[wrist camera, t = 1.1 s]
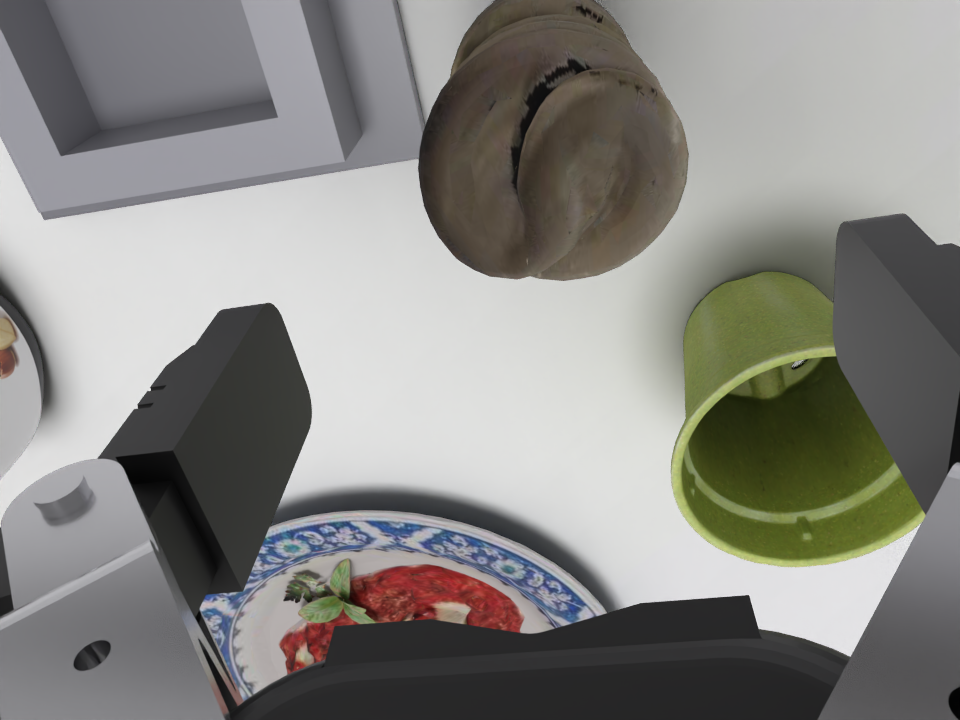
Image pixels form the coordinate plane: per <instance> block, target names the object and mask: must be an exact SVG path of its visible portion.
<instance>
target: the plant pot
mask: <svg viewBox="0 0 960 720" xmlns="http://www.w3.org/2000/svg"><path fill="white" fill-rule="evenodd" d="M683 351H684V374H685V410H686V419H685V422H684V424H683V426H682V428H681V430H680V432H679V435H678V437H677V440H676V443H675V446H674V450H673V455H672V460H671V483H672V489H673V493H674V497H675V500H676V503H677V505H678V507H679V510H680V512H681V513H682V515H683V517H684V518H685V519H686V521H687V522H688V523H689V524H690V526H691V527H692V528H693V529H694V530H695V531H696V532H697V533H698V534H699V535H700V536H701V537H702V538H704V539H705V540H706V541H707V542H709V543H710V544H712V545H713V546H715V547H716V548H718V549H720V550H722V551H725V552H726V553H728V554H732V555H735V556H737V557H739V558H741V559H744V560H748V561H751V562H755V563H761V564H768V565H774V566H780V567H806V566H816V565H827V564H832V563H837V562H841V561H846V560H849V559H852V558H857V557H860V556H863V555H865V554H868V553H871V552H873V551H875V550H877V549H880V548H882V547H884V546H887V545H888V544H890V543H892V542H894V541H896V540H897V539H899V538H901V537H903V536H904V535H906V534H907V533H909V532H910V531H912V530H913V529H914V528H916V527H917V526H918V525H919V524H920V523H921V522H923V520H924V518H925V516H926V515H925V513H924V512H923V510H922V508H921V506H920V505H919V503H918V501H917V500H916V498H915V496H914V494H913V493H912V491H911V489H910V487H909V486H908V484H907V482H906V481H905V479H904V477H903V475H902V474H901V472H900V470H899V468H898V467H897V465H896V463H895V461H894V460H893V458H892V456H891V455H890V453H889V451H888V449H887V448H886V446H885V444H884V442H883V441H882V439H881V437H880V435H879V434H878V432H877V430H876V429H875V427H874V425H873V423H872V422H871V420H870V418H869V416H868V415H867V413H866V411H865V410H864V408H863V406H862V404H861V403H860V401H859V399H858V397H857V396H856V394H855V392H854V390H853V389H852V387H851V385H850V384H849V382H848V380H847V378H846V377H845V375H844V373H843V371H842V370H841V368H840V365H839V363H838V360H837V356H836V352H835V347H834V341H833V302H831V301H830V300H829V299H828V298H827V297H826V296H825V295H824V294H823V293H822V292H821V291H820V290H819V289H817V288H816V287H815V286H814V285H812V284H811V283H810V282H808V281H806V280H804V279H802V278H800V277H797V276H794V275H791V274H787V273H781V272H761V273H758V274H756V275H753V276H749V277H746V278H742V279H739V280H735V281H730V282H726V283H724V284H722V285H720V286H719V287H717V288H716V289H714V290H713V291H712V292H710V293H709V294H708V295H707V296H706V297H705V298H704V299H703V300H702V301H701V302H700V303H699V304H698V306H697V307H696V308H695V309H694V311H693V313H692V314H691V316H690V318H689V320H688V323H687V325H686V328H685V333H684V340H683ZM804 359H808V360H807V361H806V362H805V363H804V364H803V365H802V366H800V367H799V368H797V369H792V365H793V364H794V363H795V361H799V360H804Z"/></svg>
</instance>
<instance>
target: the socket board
mask: <svg viewBox="0 0 960 720" xmlns="http://www.w3.org/2000/svg"><path fill="white" fill-rule="evenodd" d="M424 128H425V124H424V120H423V116H422V111H421V107H420V102H419V98H418V93H417V89H416V84H415V80H414V75H413V71H412V66H411V62H410V58H409V53H408V49H407V44H406V40H405V35H404V31H403V26H402V22H401V17H400V13H399V8H398V4H397V0H0V137H1V139H2V141H3V143H4V145H5V147H6V149H7V151H8V153H9V155H10V157H11V159H12V161H13V163H14V165H15V167H16V169H17V170H18V172H19V174H20V176H21V178H22V180H23V182H24V184H25V186H26V188H27V190H28V192H29V194H30V196H31V198H32V200H33V202H34V204H35V206H36V208H37V210H38V212H40V213H41V215H42V217H43V219H44V220H48V219H54V218H60V217H66V216H72V215H78V214H84V213H90V212H96V211H103V210H109V209H115V208H121V207H127V206H133V205H139V204H145V203H151V202H157V201H163V200H169V199H175V198H182V197H188V196H194V195H200V194H206V193H212V192H218V191H224V190H230V189H236V188H242V187H248V186H255V185H261V184H267V183H273V182H279V181H285V180H291V179H297V178H303V177H309V176H315V175H321V174H328V173H334V172H340V171H346V170H352V169H358V168H364V167H370V166H376V165H382V164H388V163H394V162H401V161H407V160H413V159H419V151H420V145H421V140H422V135H423V131H424Z"/></svg>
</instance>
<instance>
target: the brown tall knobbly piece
mask: <svg viewBox="0 0 960 720" xmlns="http://www.w3.org/2000/svg"><path fill="white" fill-rule="evenodd" d="M688 155H689V153H688V148H687V142H686V137H685V133H684V129H683V126H682V123H681V120H680V119H679V117H678V115H677V113H676V112H675V110H674V108H673V107H672V105H671V103H670V101H669V100H668V99H667V97H666V95H665V93H664V91H663V90H662V88H661V86H660V84H659V82H658V80H657V78H656V77H655V75H654V74H653V73H652V72H651V71H650V70H649V69H648V68H647V67H646V65H645V64H644V63H643V61H642V60H641V58H640V57H639V56H638V55H637V54H636V53H635V52H634V50H633V49H632V48H631V46H630V44H629V42H628V40H627V38H626V36H625V34H624V32H623V30H622V28H621V27H620V26H619V25H618V23H617V22H616V21H615V19H614V18H613V17H612V16H611V15H610V14H609V13H608V12H607V11H606V10H605V9H604V8H603V7H602V6H601V5H600V4H598V3H597V2H595V1H594V0H495V1H494V2H493V3H492V4H491V5H490V6H488V7H487V8H486V9H485V10H484V11H483V12H482V13H481V14H480V15H479V16H478V17H477V18H476V20H475V21H474V23H473V24H472V25H471V27H470V28H469V29H468V31H467V32H466V33H465V35H464V37H463V39H462V41H461V43H460V46H459V48H458V50H457V54H456V57H455V60H454V63H453V66H452V69H451V75H450V79H449V80H448V82H447V84H446V85H445V86H444V87H443V89H442V90H441V92H440V94H439V96H438V98H437V100H436V102H435V104H434V105H433V107H432V110H431V113H430V115H429V118H428V120H427V123H426V126H425V128H424V131H423V135H422V140H421V145H420V151H419V166H418V171H419V180H420V188H421V193H422V197H423V202H424V207H425V209H426V212H427V214H428V217H429V219H430V222H431V224H432V226H433V227H434V229H435V231H436V233H437V235H438V236H439V238H440V239H441V240H442V242H443V243H444V244H445V245H446V247H447V248H448V249H449V250H450V252H451V253H452V254H453V255H454V256H455V257H456V258H457V259H458V260H459V261H461V262H462V263H464V264H465V265H467V266H469V267H470V268H472V269H474V270H476V271H478V272H480V273H483V274H485V275H488V276H491V277H500V278H509V279H521V278H525V277H528V276H532V277H535V278H539V279H549V280H561V281H565V280H573V279H580V278H586V277H591V276H597V275H600V274H602V273H605V272H607V271H610V270H612V269H615V268H617V267H619V266H621V265H623V264H624V263H626V262H628V261H629V260H631V259H632V258H634V257H635V256H637V255H638V254H640V253H641V252H642V251H643V250H644V249H645V248H647V247H648V246H649V245H650V244H651V243H652V242H653V241H654V240H655V239H656V238H657V237H658V236H659V235H660V233H661V232H662V231H663V230H664V228H665V227H666V225H667V224H668V223H669V221H670V220H671V218H672V217H673V216H674V214H675V212H676V211H677V209H678V206H679V203H680V200H681V197H682V194H683V191H684V188H685V185H686V179H687V169H688Z"/></svg>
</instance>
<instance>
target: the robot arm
mask: <svg viewBox="0 0 960 720" xmlns="http://www.w3.org/2000/svg"><path fill="white" fill-rule="evenodd" d="M833 341H834V347H835V352H836V356H837V360H838V363H839V365H840V368H841V370H842V371H843V373H844V375H845V377H846V378H847V380H848V382H849V384H850V385H851V387H852V389H853V390H854V392H855V394H856V396H857V397H858V399H859V401H860V403H861V404H862V406H863V408H864V410H865V411H866V413H867V415H868V416H869V418H870V420H871V422H872V423H873V425H874V427H875V429H876V430H877V432H878V434H879V435H880V437H881V439H882V441H883V442H884V444H885V446H886V448H887V449H888V451H889V453H890V455H891V456H892V458H893V460H894V461H895V463H896V465H897V467H898V468H899V470H900V472H901V474H902V475H903V477H904V479H905V481H906V482H907V484H908V486H909V487H910V489H911V491H912V493H913V494H914V496H915V498H916V500H917V501H918V503H919V505H920V506H921V508H922V510H923V512H924V513H925V515H926V516H925V518H924V520H923V522H922V524H921V525H920V527H919V529H918V531H917V533H916V535H915V537H914V539H913V540H912V542H911V544H910V546H909V548H908V550H907V552H906V554H905V556H904V557H903V559H902V561H901V563H900V565H899V567H898V569H897V571H896V572H895V574H894V576H893V578H892V580H891V582H890V584H889V586H888V588H887V589H886V591H885V593H884V595H883V597H882V599H881V601H880V603H879V604H878V606H877V608H876V610H875V612H874V614H873V616H872V618H871V620H870V621H869V623H868V625H867V627H866V629H865V631H864V633H863V635H862V636H861V638H860V640H859V642H858V644H857V646H856V648H855V650H854V652H853V653H852V655H851V657H849V656H847V655H845V654H843V653H841V652H839V651H836V650H834V649H832V648H829V647H826V646H823V645H821V644H818V643H815V642H812V641H809V640H806V639H803V638H799V637H795V636H791V635H787V634H783V633H779V632H773V631H767V630H761V629H758V626H757V622H756V619H755V615H754V611H753V608H752V604H751V601H750V597H749V595H745V596H732V597H719V598H705V599H692V600H678V601H665V602H651V603H640V604H637V605H633V606H630V607H626V608H623V609H619V610H616V611H613V612H609V613H606V614H602V615H599V616H595V617H592V618H589V619H585V620H582V621H578V622H575V623H571V624H568V625H565V626H561V627H558V628H554V629H551V630H548V631H544V632H539V633H530V634H528V633H518V632H512V631H505V630H499V629H492V628H486V627H479V626H473V625H466V624H460V623H453V622H447V621H440V620H434V619H423V620H409V621H396V622H383V623H369V624H356V625H342V626H334V630H333V634H332V637H331V641H330V645H329V648H328V652H327V656H326V659H325V660H323V661H320V662H317V663H314V664H311V665H309V666H306V667H304V668H301V669H299V670H296V671H294V672H292V673H290V674H288V675H286V676H284V677H282V678H280V679H278V680H276V681H275V682H273V683H271V684H269V685H268V686H266V687H264V688H263V689H261V690H260V691H258V692H257V693H255V694H254V695H252V696H250V697H249V698H248V699H246V700H245V701H243V699H242V696H241V694H240V692H239V690H238V688H237V685H236V683H235V681H234V679H233V677H232V675H231V672H230V670H229V668H228V666H227V664H226V662H225V659H224V657H223V655H222V653H221V651H220V649H219V646H218V644H217V642H216V640H215V638H214V636H213V633H212V631H211V629H210V627H209V625H208V623H207V621H206V619H205V617H204V615H203V614H202V612H201V610H200V607H201V605H202V603H203V600H204V598H205V596H206V595H209V594H221V593H233V592H243V591H244V588H245V586H246V583H247V581H248V578H249V576H250V574H251V571H252V569H253V566H254V564H255V561H256V559H257V556H258V554H259V552H260V549H261V547H262V544H263V542H264V539H265V537H266V534H267V532H268V529H269V527H270V525H271V522H272V520H273V517H274V515H275V512H276V510H277V507H278V505H279V503H280V500H281V498H282V495H283V493H284V490H285V488H286V485H287V483H288V481H289V478H290V476H291V473H292V471H293V468H294V466H295V463H296V461H297V459H298V456H299V454H300V451H301V449H302V446H303V444H304V441H305V439H306V437H307V434H308V432H309V429H310V425H311V418H312V407H311V399H310V394H309V390H308V387H307V384H306V381H305V379H304V376H303V373H302V370H301V368H300V365H299V362H298V360H297V357H296V354H295V351H294V349H293V346H292V343H291V340H290V338H289V335H288V332H287V329H286V327H285V324H284V321H283V319H282V316H281V314H280V312H279V311H278V309H277V308H276V307H275V306H274V305H273V304H271V303H265V304H258V305H251V306H244V307H237V308H230V309H223V310H221V311H219V312H218V313H217V315H216V316H215V318H214V319H213V320H212V322H211V323H210V325H209V326H208V327H207V329H206V330H205V332H204V333H203V334H202V336H201V337H200V339H199V340H198V341H197V343H196V344H195V345H193V346H191V347H190V348H189V349H188V350H186V351H185V352H184V353H182V354H181V355H180V356H178V357H177V358H176V359H174V360H173V361H172V362H171V363H169V364H168V365H167V366H166V367H165V368H164V370H163V371H162V372H161V374H160V375H159V376H158V378H157V379H156V380H155V382H154V383H153V384H152V386H151V387H150V388H151V391H147V393H146V394H145V395H144V397H143V398H142V399H141V401H140V402H139V403H138V409H134V410H133V411H132V413H131V414H130V415H129V417H128V418H127V420H126V421H125V422H124V424H123V425H122V426H121V428H120V429H119V430H118V432H117V433H116V434H115V436H114V437H113V438H112V440H111V441H110V443H109V444H108V445H107V447H106V448H105V449H104V451H103V452H102V453H101V455H100V456H99V457H98V459H92V460H85V461H81V462H77V463H74V464H71V465H68V466H65V467H63V468H60V469H58V470H56V471H54V472H52V473H50V474H48V475H46V476H44V477H43V478H41V479H39V480H38V481H36V482H35V483H33V484H32V485H30V486H29V487H28V488H26V489H25V490H24V491H23V492H22V493H20V494H19V495H18V496H17V497H16V498H15V499H14V500H13V501H12V503H11V504H10V505H9V507H8V508H7V510H6V511H5V513H4V515H3V518H2V521H1V527H0V720H960V247H959V246H957V245H954V244H952V243H950V244H943V245H936V244H935V243H934V242H933V241H932V240H931V239H930V238H929V237H928V236H927V235H926V234H925V233H924V232H923V231H922V230H921V229H920V228H919V227H918V226H917V225H916V224H915V223H914V222H913V221H912V220H911V219H910V218H909V217H908V216H907V215H906V214H903V213H902V214H895V215H888V216H881V217H874V218H867V219H860V220H853V221H846V222H843V223H842V224H841V225H840V227H839V230H838V234H837V241H836V260H835V282H834V303H833Z"/></svg>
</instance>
